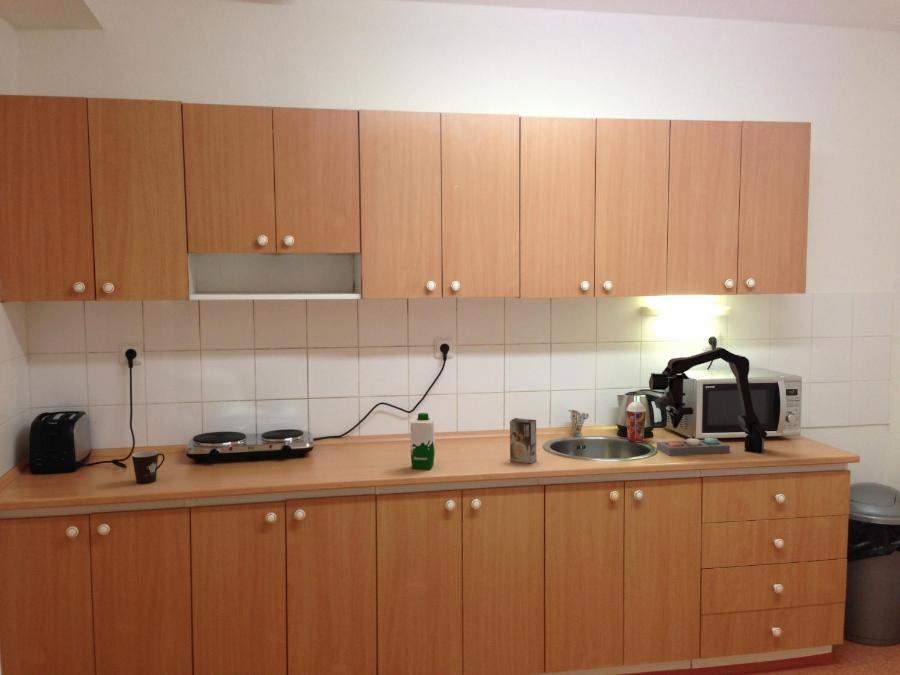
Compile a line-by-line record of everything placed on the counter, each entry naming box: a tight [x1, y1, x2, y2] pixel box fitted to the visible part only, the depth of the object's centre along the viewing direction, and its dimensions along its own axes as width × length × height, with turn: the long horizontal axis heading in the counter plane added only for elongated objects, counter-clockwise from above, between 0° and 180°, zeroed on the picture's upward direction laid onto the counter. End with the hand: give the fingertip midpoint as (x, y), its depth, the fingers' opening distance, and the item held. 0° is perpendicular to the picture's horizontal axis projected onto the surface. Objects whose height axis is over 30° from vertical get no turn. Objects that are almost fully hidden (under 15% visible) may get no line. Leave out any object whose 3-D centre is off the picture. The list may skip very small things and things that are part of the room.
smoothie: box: [625, 394, 647, 442], centre depth 305 cm, size 8×8×20 cm
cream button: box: [685, 438, 700, 446], centre depth 287 cm, size 5×5×2 cm
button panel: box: [656, 439, 731, 457], centre depth 288 cm, size 11×26×3 cm, turn 99°
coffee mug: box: [131, 450, 166, 485], centre depth 251 cm, size 12×9×10 cm
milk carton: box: [409, 412, 436, 471], centre depth 266 cm, size 9×9×20 cm
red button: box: [668, 441, 681, 447], centre depth 286 cm, size 5×5×2 cm
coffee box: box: [509, 417, 538, 464], centre depth 274 cm, size 9×6×16 cm
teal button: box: [704, 437, 719, 445], centre depth 289 cm, size 5×5×2 cm
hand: (675, 428), depth 286 cm, fingers closed
